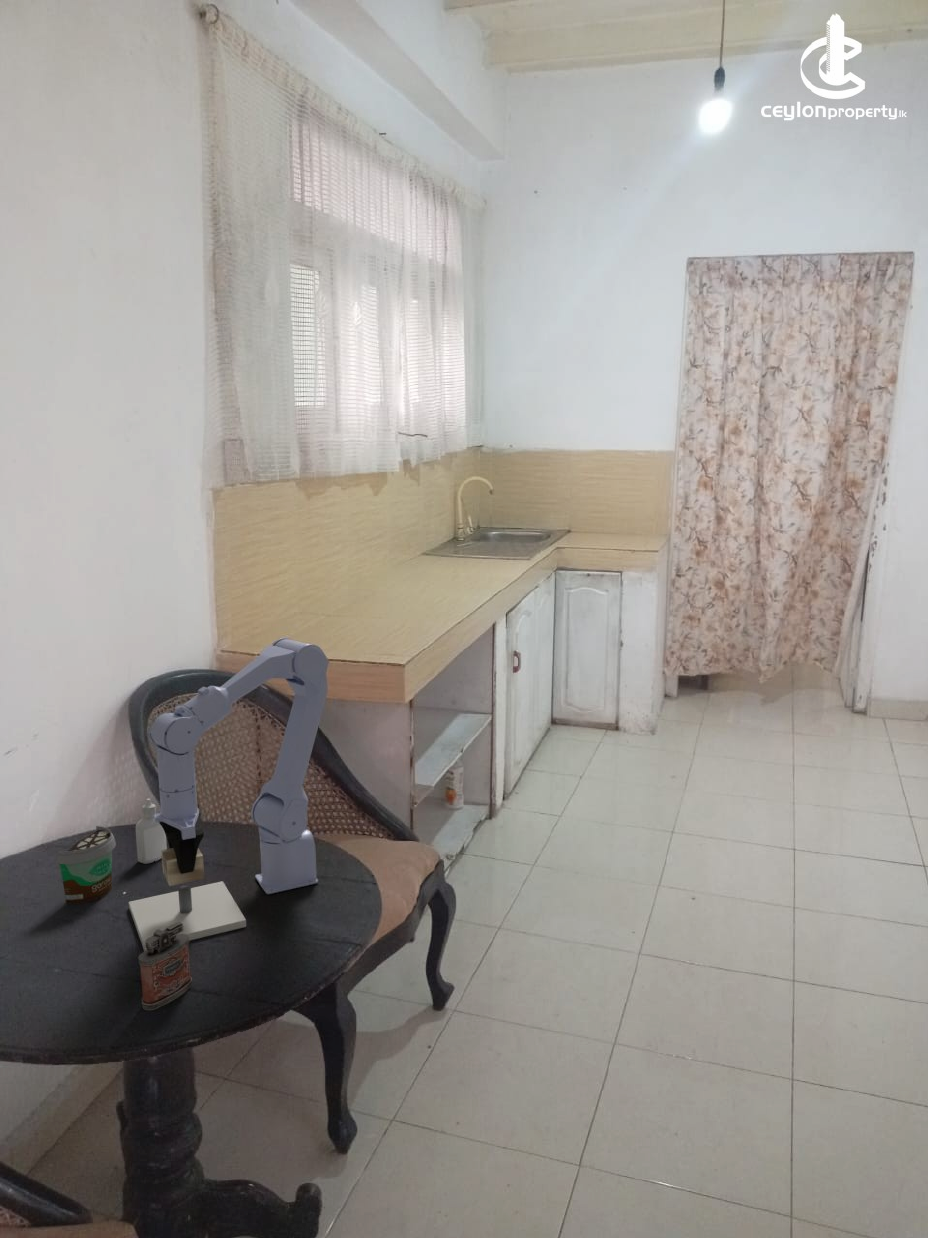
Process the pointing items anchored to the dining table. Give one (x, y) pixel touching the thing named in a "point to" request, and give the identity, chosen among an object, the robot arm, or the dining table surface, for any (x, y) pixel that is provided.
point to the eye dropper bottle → (149, 836)
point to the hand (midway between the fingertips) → (183, 864)
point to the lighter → (165, 967)
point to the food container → (88, 867)
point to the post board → (188, 912)
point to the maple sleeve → (173, 871)
